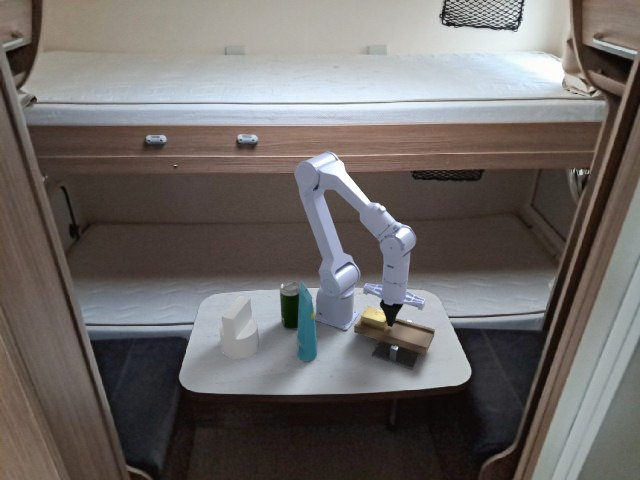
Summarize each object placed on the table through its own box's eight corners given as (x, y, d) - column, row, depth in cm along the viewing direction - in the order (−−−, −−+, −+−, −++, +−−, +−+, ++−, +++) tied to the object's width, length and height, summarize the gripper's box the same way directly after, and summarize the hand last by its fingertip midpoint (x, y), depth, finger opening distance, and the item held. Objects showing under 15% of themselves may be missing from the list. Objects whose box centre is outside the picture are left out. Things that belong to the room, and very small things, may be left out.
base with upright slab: (233, 330, 121) (228, 292, 115) (265, 338, 118) (262, 299, 112) (215, 353, 113) (209, 314, 108) (248, 362, 111) (244, 322, 105)
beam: (353, 335, 116) (353, 327, 115) (366, 316, 122) (366, 308, 121) (424, 358, 108) (425, 349, 107) (434, 336, 115) (435, 327, 114)
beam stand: (371, 356, 113) (372, 343, 111) (390, 324, 123) (391, 313, 121) (412, 369, 109) (413, 357, 107) (427, 336, 119) (429, 324, 117)
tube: (322, 361, 111) (322, 294, 102) (304, 367, 109) (302, 300, 100) (309, 342, 117) (308, 277, 108) (291, 347, 115) (289, 282, 106)
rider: (360, 325, 116) (360, 315, 114) (367, 315, 119) (367, 306, 118) (383, 332, 113) (384, 322, 112) (389, 322, 117) (390, 312, 115)
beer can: (288, 333, 120) (286, 295, 114) (277, 322, 124) (275, 284, 118) (306, 326, 122) (305, 288, 117) (295, 315, 126) (294, 278, 121)
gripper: (358, 277, 107) (356, 324, 114) (421, 294, 102) (415, 343, 108) (370, 263, 113) (367, 308, 119) (430, 278, 107) (423, 325, 114)
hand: (390, 324), depth 114 cm, fingers closed
